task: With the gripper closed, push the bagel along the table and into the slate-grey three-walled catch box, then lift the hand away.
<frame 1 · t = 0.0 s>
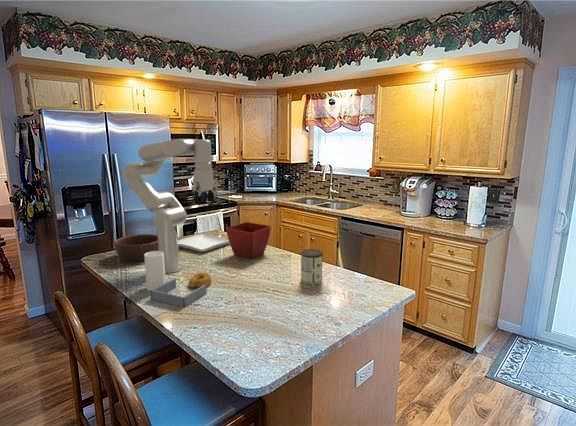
hand: (204, 203, 173), 37 cm above the kitchen island, tool pointing down, fingers open, 9 cm apart
wooden bowl: (139, 257, 210), on the kitchen island
square plate: (203, 246, 233), on the kitchen island
plant pot: (249, 255, 215), on the kitchen island
bagel: (200, 285, 170), on the kitchen island
catch box: (179, 296, 158), on the kitchen island
coffee can: (311, 280, 177), on the kitchen island
cup: (156, 287, 167), on the kitchen island
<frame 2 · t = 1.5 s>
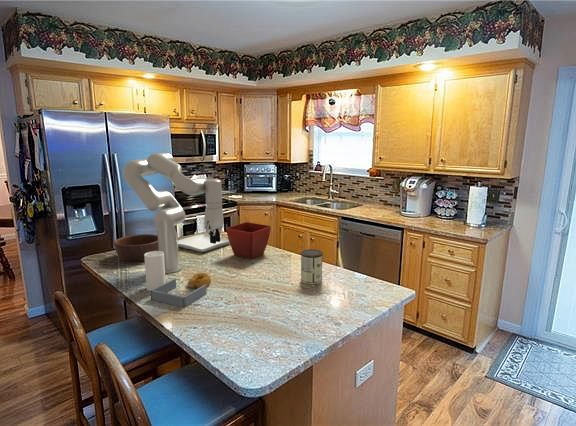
hand: (215, 242, 179), 17 cm above the kitchen island, tool pointing down, fingers closed
nothing on the kitchen island moved.
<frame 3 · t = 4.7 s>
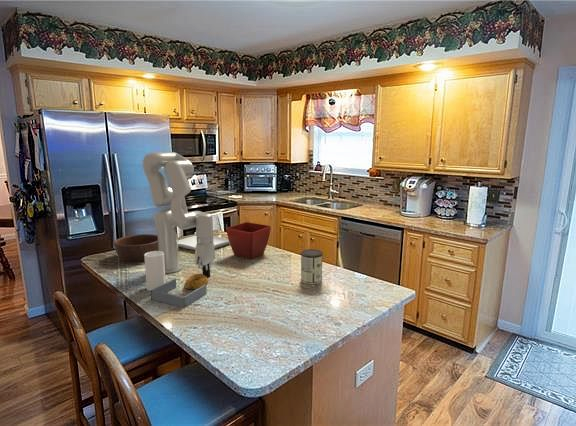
hand: (206, 277, 174), 2 cm above the kitchen island, tool pointing down, fingers closed
bagel: (196, 286, 169), on the kitchen island, touching gripper
everything else where it was.
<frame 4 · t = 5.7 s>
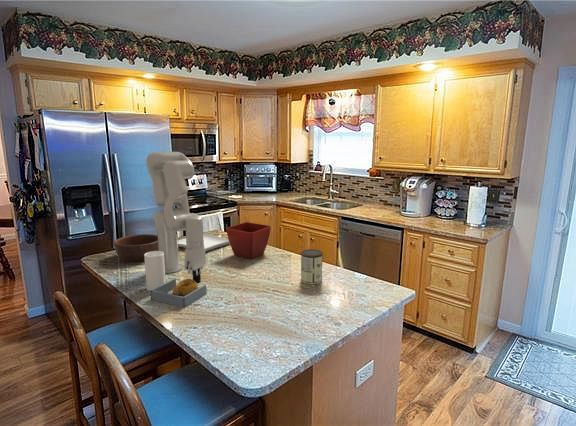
hand: (196, 282, 168), 2 cm above the kitchen island, tool pointing down, fingers closed
bagel: (185, 292, 162), on the kitchen island, touching gripper
everything else where it was.
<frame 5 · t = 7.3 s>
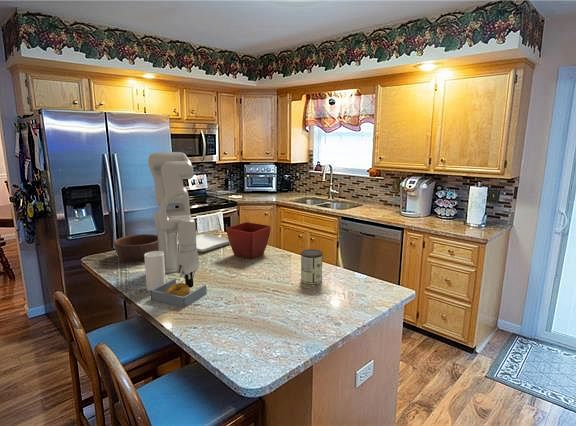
hand: (189, 286, 163), 2 cm above the kitchen island, tool pointing down, fingers closed
bagel: (177, 297, 158), on the kitchen island
everything else where it was.
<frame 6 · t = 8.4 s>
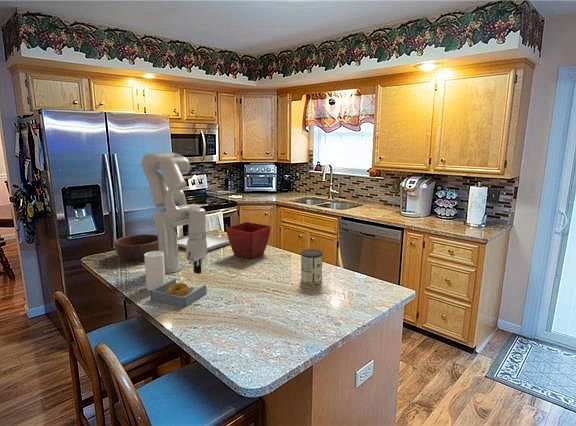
hand: (197, 272, 170), 5 cm above the kitchen island, tool pointing down, fingers closed
nothing on the kitchen island moved.
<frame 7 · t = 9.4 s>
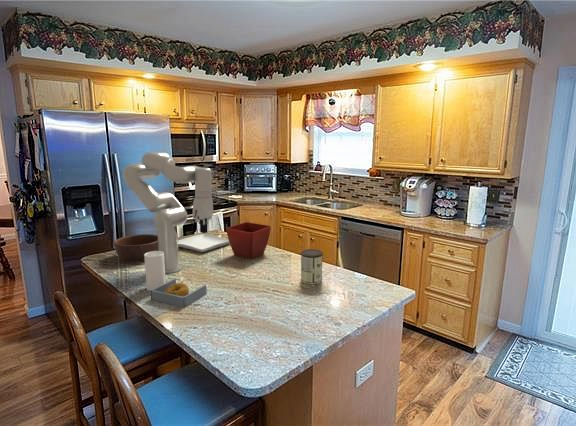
hand: (203, 232, 175), 23 cm above the kitchen island, tool pointing down, fingers closed
nothing on the kitchen island moved.
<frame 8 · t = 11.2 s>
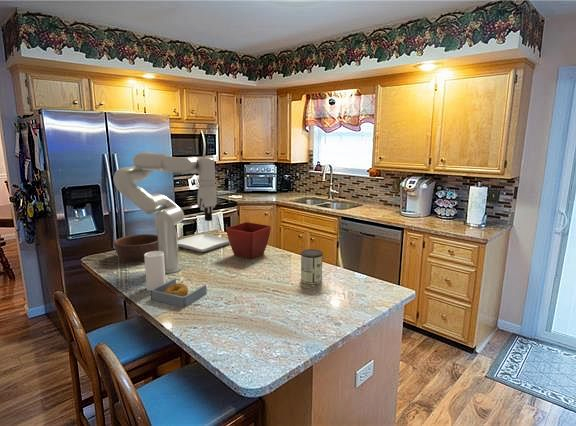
hand: (208, 220, 180), 27 cm above the kitchen island, tool pointing down, fingers closed
nothing on the kitchen island moved.
at the end: bagel inside the target area (1.5 cm from its centre), on the kitchen island; bagel tilted 0° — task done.
